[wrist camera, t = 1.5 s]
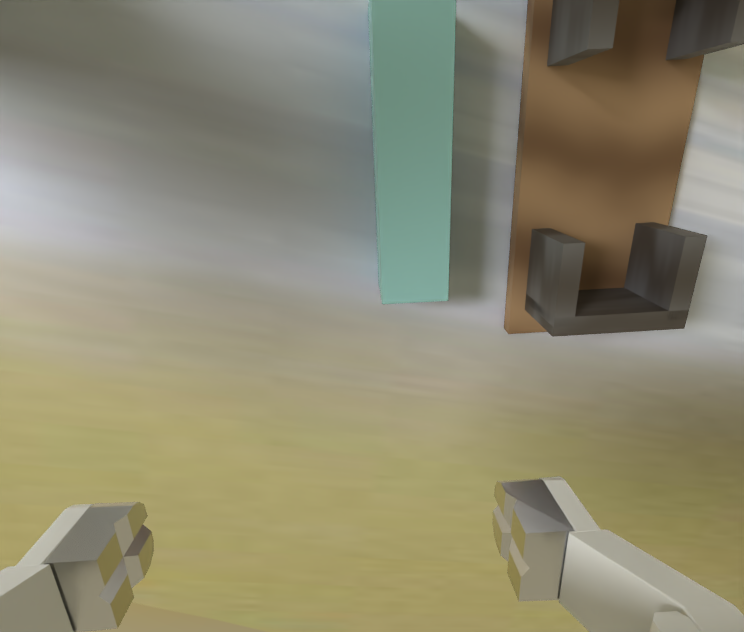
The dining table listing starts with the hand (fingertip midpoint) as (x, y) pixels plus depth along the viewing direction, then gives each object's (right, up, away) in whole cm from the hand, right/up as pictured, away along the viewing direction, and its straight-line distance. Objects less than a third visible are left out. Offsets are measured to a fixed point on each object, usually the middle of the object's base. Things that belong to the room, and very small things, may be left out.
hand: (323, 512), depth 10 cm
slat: (+3, +15, +17) cm, 22 cm away
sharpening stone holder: (+15, +15, +17) cm, 27 cm away
